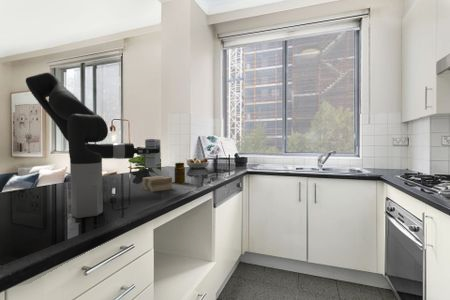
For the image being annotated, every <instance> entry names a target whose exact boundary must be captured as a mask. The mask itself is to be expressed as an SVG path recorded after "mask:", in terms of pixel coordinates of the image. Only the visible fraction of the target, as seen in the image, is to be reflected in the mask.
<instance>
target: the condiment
mask: <svg viewBox="0 0 450 300" xmlns="http://www.w3.org/2000/svg"><path fill="white" fill-rule="evenodd" d="M182 184H183V185H184V184H187V181H186V167H185V163H184V162H175V164H174V181H172V185H182Z"/></svg>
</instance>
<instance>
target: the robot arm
mask: <svg viewBox="0 0 450 300" xmlns="http://www.w3.org/2000/svg"><path fill="white" fill-rule="evenodd" d="M25 84H26V86H27V88H28V90H29V91H30V93H31V95H32V96H33V98H35V100H36V101H37V103H39V105H40V107H42V108H43V110H44V111H45V112H46V114H47V115H48V116H49V118H51V120H52V121H53V122H54V123H55V124H56V126H57V128H58V130H60V132H61V134H62V136H63V137H64V139H65V140H66V141H67V143H68V154H69V169H70V170H69V171H70V173H69V174H70V209H71V210H70V213H71V215H70V216H71V217H72V218H75V219H82V218H87V217H88V218H89V217H96V216H97V217H98V216H99V215H101V214H102V213H103V212H104V211H103V210H104V208H103V207H104V204H103V203H104V202H103V199H104V198H103V159H105V160H106V159H107V160H108V159H115V160H117V159H118V160H123V159H124V160H125V159H131V160H132V159H134V158H135V154H136V155H137V156H142V155H146V154H151V153H159V149H151V148H149V149H147V148H145V146H144V147H143V146H142V147H141V146H136V147H135V145H134V143H131V142H127V143H126V142H125V143H121V142H120V143H119V142H117V143H100V142H102V141H104V140H106V138H107V137H108V135H109V128H108V124H107V121H106V120H105V119H104V118H103V117H102V116H100V115H99V114H97V113H95V112H94V111H93V110H91V109H90V108H89V107H87V105H85V104H84V103H83V102H81V101H80V99H78V97H77V96H75V94H73V93H72V92H71V91H70V90H69V89H67V88H66V87H65V86H64V85H63V84H62V82H61V81H60V80H59V79H58V78H57V76H56V75H55V74H54V73H51V72H50V71H49V72H48V71H47V72H43V73H38V74H35V75H31V76H27V77H26V78H25ZM47 98H48V99H47ZM147 150H148V152H147Z"/></svg>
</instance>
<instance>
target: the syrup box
mask: <svg viewBox="0 0 450 300" xmlns="http://www.w3.org/2000/svg"><path fill="white" fill-rule="evenodd" d="M144 140H145V141H144V145H145V146H144V148H147V149H149V148H151V149H159V153H151V154H146V155H145V158H144V159H145V168H148V169H156V168H161V167H162V164H161V163H162V159H161V156H162V155H161V139H157V138H156V139H154V138H149V139H148V138H147V139H144ZM147 152H148V150H147Z"/></svg>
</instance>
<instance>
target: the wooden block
mask: <svg viewBox="0 0 450 300" xmlns="http://www.w3.org/2000/svg"><path fill="white" fill-rule="evenodd" d="M141 181H142V184H141V185H142V189H143V190H146V191H148V192H151V193H152V192H159V191H160V192H161V191H167V190H172V189H173V184H172V182H173V177H169V176H164V175H155V176H153V175H152V176H145V177H142V180H141Z"/></svg>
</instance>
